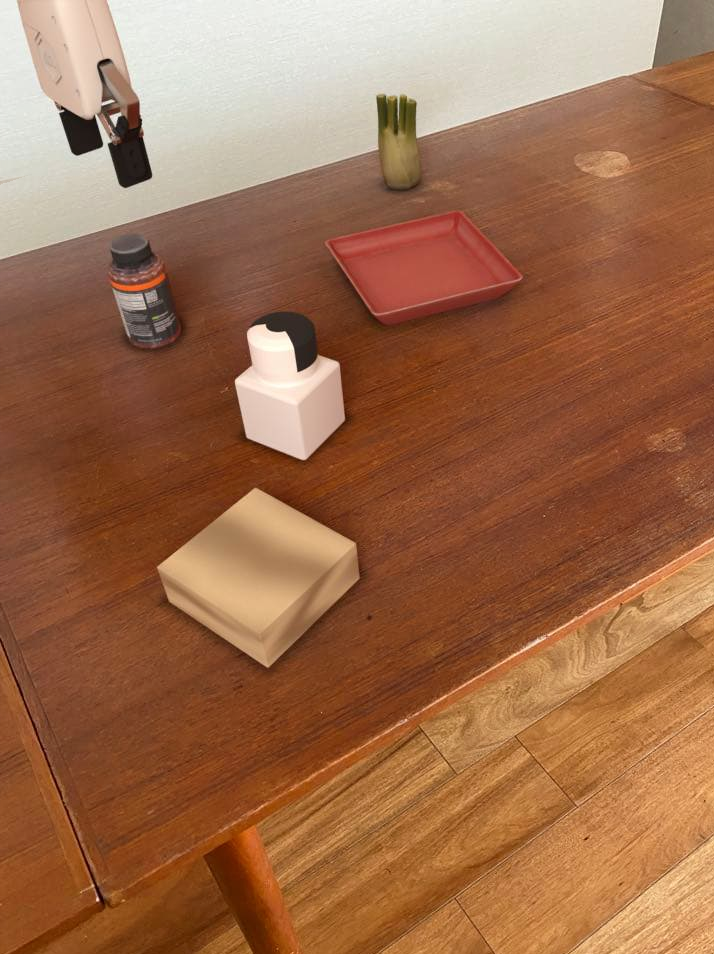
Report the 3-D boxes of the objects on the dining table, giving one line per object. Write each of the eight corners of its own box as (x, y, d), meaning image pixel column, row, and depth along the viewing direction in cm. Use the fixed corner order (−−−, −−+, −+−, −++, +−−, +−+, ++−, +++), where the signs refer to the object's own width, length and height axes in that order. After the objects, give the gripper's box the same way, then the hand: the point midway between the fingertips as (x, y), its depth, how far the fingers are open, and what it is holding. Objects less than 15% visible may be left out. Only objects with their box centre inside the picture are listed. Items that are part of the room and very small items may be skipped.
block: (268, 670, 65) (259, 634, 62) (169, 603, 70) (156, 567, 67) (360, 580, 71) (356, 543, 68) (263, 524, 76) (255, 487, 73)
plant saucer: (375, 340, 95) (374, 314, 92) (325, 263, 106) (322, 238, 104) (523, 304, 99) (526, 277, 97) (459, 233, 111) (460, 209, 108)
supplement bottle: (150, 316, 99) (124, 223, 91) (193, 328, 97) (170, 234, 89) (117, 344, 96) (87, 249, 87) (160, 357, 94) (134, 261, 86)
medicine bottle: (288, 399, 88) (271, 294, 79) (346, 421, 86) (336, 315, 77) (245, 439, 84) (222, 333, 75) (305, 463, 81) (288, 356, 73)
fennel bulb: (375, 183, 121) (370, 92, 112) (404, 174, 123) (402, 84, 114) (397, 198, 118) (394, 106, 109) (427, 189, 120) (426, 97, 111)
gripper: (-35, -53, 73) (36, 151, 86) (54, -12, 64) (119, 210, 76) (47, -71, 76) (105, 128, 89) (144, -35, 67) (192, 182, 80)
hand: (111, 166), depth 83 cm, fingers open, 9 cm apart
